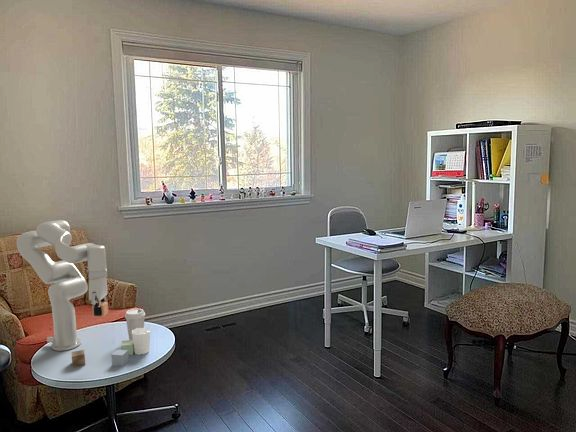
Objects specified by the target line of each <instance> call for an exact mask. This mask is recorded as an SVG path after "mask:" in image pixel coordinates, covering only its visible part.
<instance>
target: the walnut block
mask: <svg viewBox="0 0 576 432" xmlns="http://www.w3.org/2000/svg"><path fill="white" fill-rule="evenodd" d="M85 355H86V354H85V349H79V350H74V351H71V364H72V368H76V367H77V368H78V367H82V366H86V356H85Z"/></svg>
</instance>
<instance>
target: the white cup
mask: <svg viewBox="0 0 576 432" xmlns="http://www.w3.org/2000/svg"><path fill="white" fill-rule="evenodd" d="M150 333H151V331H150V328H148V327H144V328H138V329H135V330H133V331H132V341H133V348H134V353H133V354H135V355H138V356H139V355H141V354H142V355H146V354H147V353H149V352H150V345H151V343H150V340H151V339H150V337H151V336H150V335H151V334H150ZM142 355H141V356H142Z"/></svg>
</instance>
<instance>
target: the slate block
mask: <svg viewBox="0 0 576 432" xmlns="http://www.w3.org/2000/svg"><path fill="white" fill-rule="evenodd" d="M128 362H129V355H128V350H121V349H116V350H115V351H114V352H113V353H112V354H111V366H115V367H117V366H118V367H124V366H125V364H127V363H128Z"/></svg>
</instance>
